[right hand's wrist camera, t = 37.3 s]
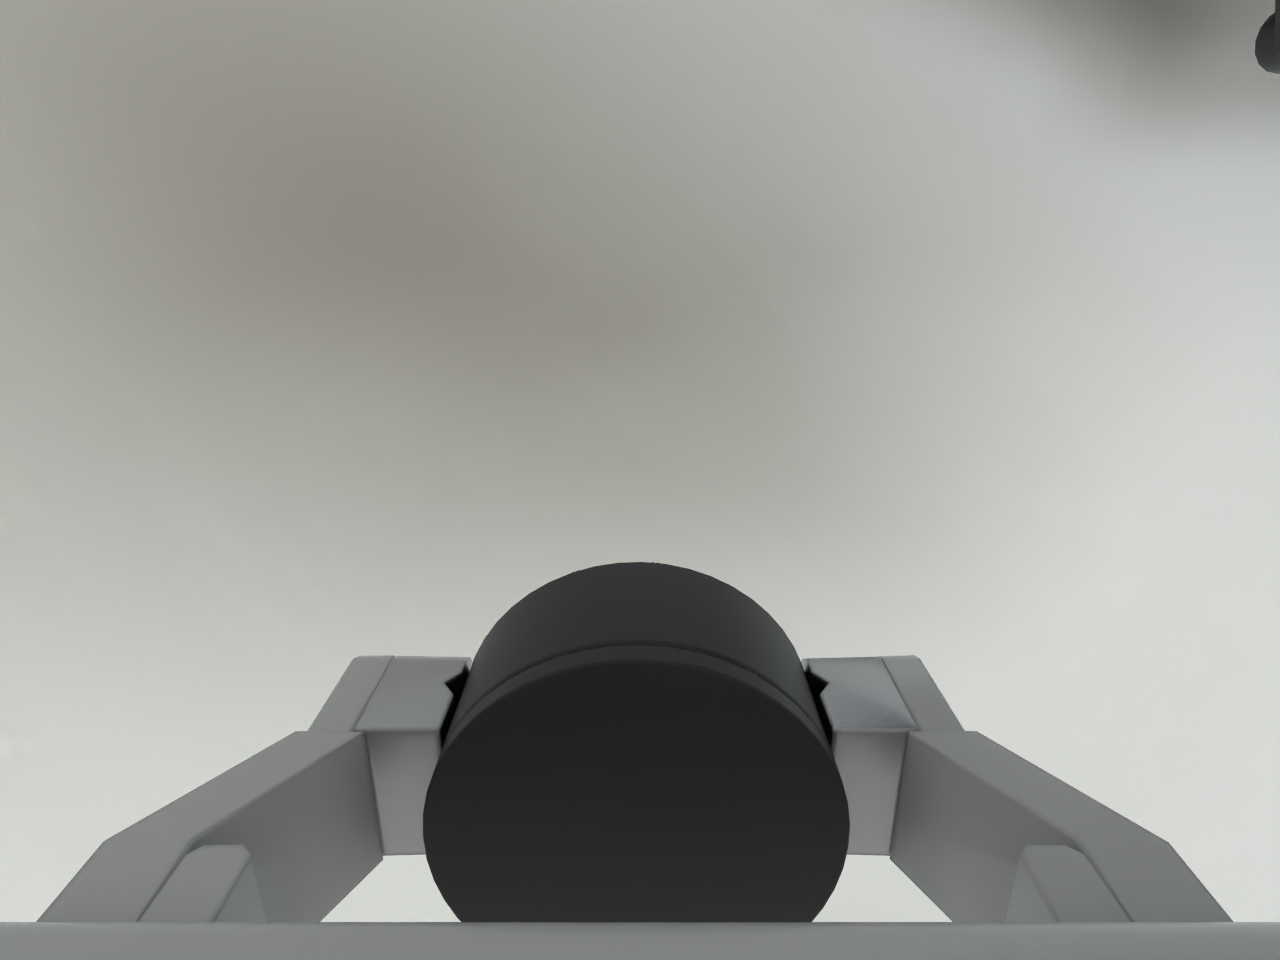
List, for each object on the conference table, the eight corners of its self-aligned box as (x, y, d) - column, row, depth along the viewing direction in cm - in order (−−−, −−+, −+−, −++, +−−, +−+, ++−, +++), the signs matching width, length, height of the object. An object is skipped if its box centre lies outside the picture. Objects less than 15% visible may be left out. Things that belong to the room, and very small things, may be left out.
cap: (877, 665, 10) (940, 787, 8) (687, 890, 11) (698, 1046, 9) (574, 495, 9) (554, 581, 7) (408, 758, 10) (352, 896, 8)
